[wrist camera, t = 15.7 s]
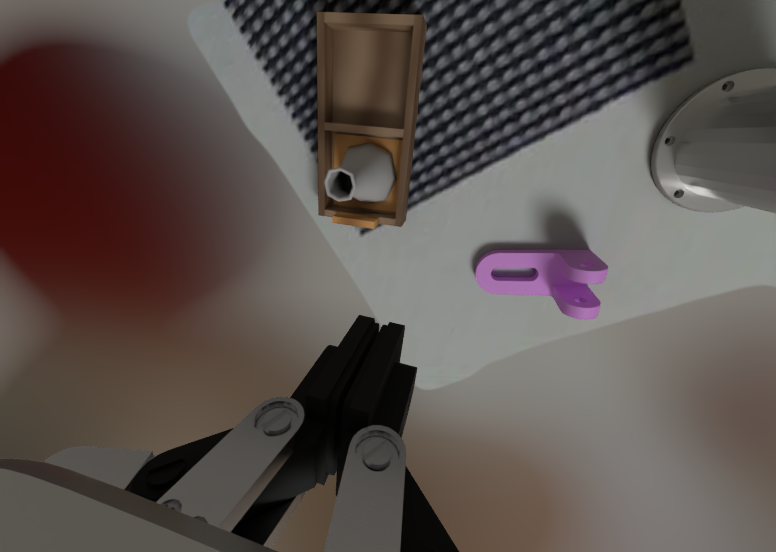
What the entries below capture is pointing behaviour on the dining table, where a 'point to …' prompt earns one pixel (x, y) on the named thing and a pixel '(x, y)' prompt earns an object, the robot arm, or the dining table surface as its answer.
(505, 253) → the bracket
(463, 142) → the dining table surface
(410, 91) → the divided wooden tray
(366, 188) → the flask
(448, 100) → the dining table surface
